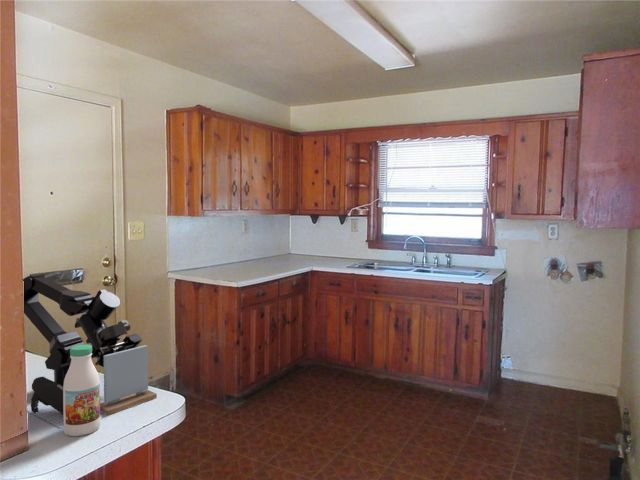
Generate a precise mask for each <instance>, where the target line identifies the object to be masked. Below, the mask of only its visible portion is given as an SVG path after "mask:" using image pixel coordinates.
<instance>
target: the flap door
mask: <svg viewBox="0 0 640 480" xmlns="http://www.w3.org/2000/svg"><path fill="white" fill-rule="evenodd" d="M147 390H149V346H148V345H146V344H144V345H141V346H137V347H136V348H132V349H128V350H124V351H120V352H116V353H112V354H108V355H104V367H103V402H105V403H108V405H111V404H114V403H116V402H119V401H120V398H123V397H126V396H129V395H132V394H135V393H136V395H140V394H143V393H145V392H147Z"/></svg>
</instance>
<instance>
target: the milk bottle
mask: <svg viewBox="0 0 640 480" xmlns="http://www.w3.org/2000/svg"><path fill="white" fill-rule="evenodd" d="M91 355H92V345H91V344H85V345H77V346H73V347H71V348H70V358H71V364H70V367H69V370H68V372H67V374H66V376H65V379H64V385H63V414H62V416H63V432H64V434H65V435H66V436H70V437H81V436H86V435H89V434H93V433H94V432H96V431H98V430H99V428H100V426H101V411H100V403H101V386H100V384H101V383H100V376H99V373H98V371H97V369H96V367H95V365H94V363H93V360H92V359H91Z"/></svg>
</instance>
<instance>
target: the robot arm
mask: <svg viewBox="0 0 640 480" xmlns="http://www.w3.org/2000/svg"><path fill="white" fill-rule="evenodd" d="M22 280H23V281H24V313H23V314H24V315H25V316H26V317H27V319H29V321H30V322H31V323H32V325H34V326H35V328H36V329H37V331H38V332H39V333H40V334H41V335H42V336H43V338H45V340H46V341H47V342H48V343H49V350H48V351H49V354H50V355H49V356H48V357H47V358H46V360H44V364H45V367H46V369H48V370H51V371H53V381H54V382H56V383H58V384H60V385H61V386H63V385H64V379H65V376H66V374H67V372H68V370H69V367H70V364H71V358H70V348H71V347H73V346H77V345H91V346H92V355H91V360H92V359H94V358H95V359H96V362H95V363H94V364H95V365H94V366H100V367H101V368H104V355H108V354H112V353H116V352H120V351H124V350H128V349H132V348H136V347H139V345H140V344H141V343H142V341H143V339H142V337H141V336H140V334H139V333H134V334H130V335H128V336H125V335H127V334H128V331H131V325H130V323H129V321H128V320H127V319H124V320H123V319H122V320H121V321H119V322H117V324H113V325H111V324H109V325H107V323H106V321H105V320H107V319H109V318H110V317H111V315H113V314H114V312H115V310H117V308H118V307H119V306H120V304H121V300H120V298H119V296H118V295H116V294H114V293H113V292H110V291H108V290H107V288H104V289H103V288H102V289H99V290H98V291H97V292H96V294H95V296H93V295H92V294H91V293H90V292H88V291H87V292H86V291H81V290H74V289H73V290H72V289H70V288H68V287H66V286H64V285H62V284H60V283H58V282H56V281H54V280H52V279H50V278H48V277H47V276H46V275H44V274H31V275H28V276H26V277H24V278H23V279H22ZM39 294H40V295H42V296H44V297H45V298H48V299H50V301H51V300H52V301H53V302H55V303H57V304H58V305H59V306H58V307H59V309H60V310H61V311H62V312H63V313H65V314H66V315H67V316H68V317H69V316H70V317H73V316H77V315H81V316H80V317H76V319H75V323H74V328H75V329H78V328H81V329H82V331H83V332H84V334H85V336H86V338H87V339H86V341H85V342H86V343H85V342H84V339H83V338H82V337H81V336H80V335H79V334H78V332H77V331H74V330H73V331H69V332H67V331H65V329H63V327H62V326H61V325H60V324H59V323H58V321H56V319H55V318H54V317H53V316H52V315H51V314H50V313H49V311H48V310H47V309H46V308H45V307H44V306H43V304H41V302H40V301H39ZM123 335H124V336H125V337H124V338H123V339H122V341H121V342H119V341H120V339H121V338H122V337H121V336H123Z"/></svg>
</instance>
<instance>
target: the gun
mask: <svg viewBox="0 0 640 480" xmlns="http://www.w3.org/2000/svg"><path fill="white" fill-rule="evenodd" d="M31 389H32V391H33V394H32V396H31V399H30V409H31V410H30V411H31V412H32V413H33V414H37V413H39V403H42V404H43V405H44V406H47V407H49V406H50V407H51V408H53V409H54V410H56V411H57V412H58V413H60V414H61V415H63V386H61V385H60V384H58V383H56V382H54V380H51V379H49V378H46V377H45V376H38V377H36V378H34V379H33V381H32V383H31ZM36 412H37V413H36Z"/></svg>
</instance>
